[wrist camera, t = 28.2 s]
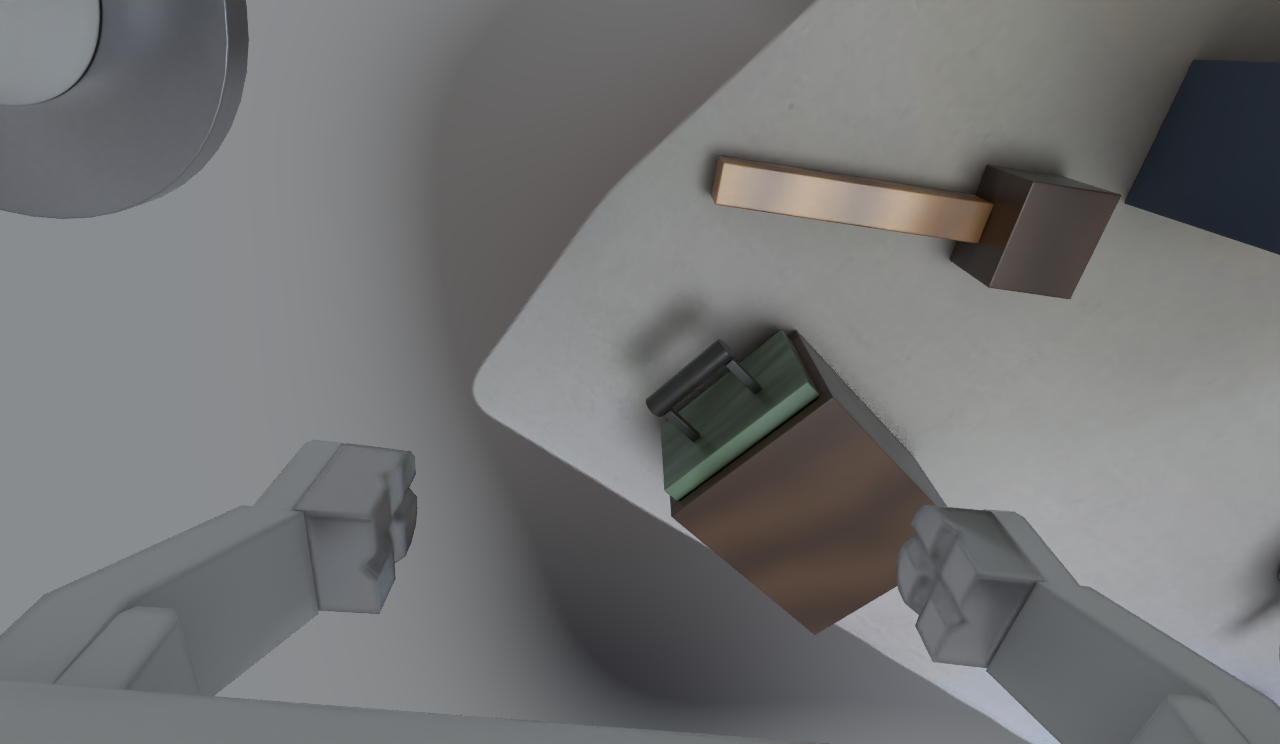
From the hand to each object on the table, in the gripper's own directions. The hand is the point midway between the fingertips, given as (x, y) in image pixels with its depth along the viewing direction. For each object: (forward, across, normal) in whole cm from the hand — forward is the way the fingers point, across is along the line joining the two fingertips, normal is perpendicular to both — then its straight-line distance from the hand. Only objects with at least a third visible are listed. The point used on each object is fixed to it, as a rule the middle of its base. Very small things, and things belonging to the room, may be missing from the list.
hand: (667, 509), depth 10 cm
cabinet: (+31, -14, +18) cm, 39 cm away
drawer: (+30, -10, +16) cm, 36 cm away
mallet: (+31, -14, 0) cm, 34 cm away
